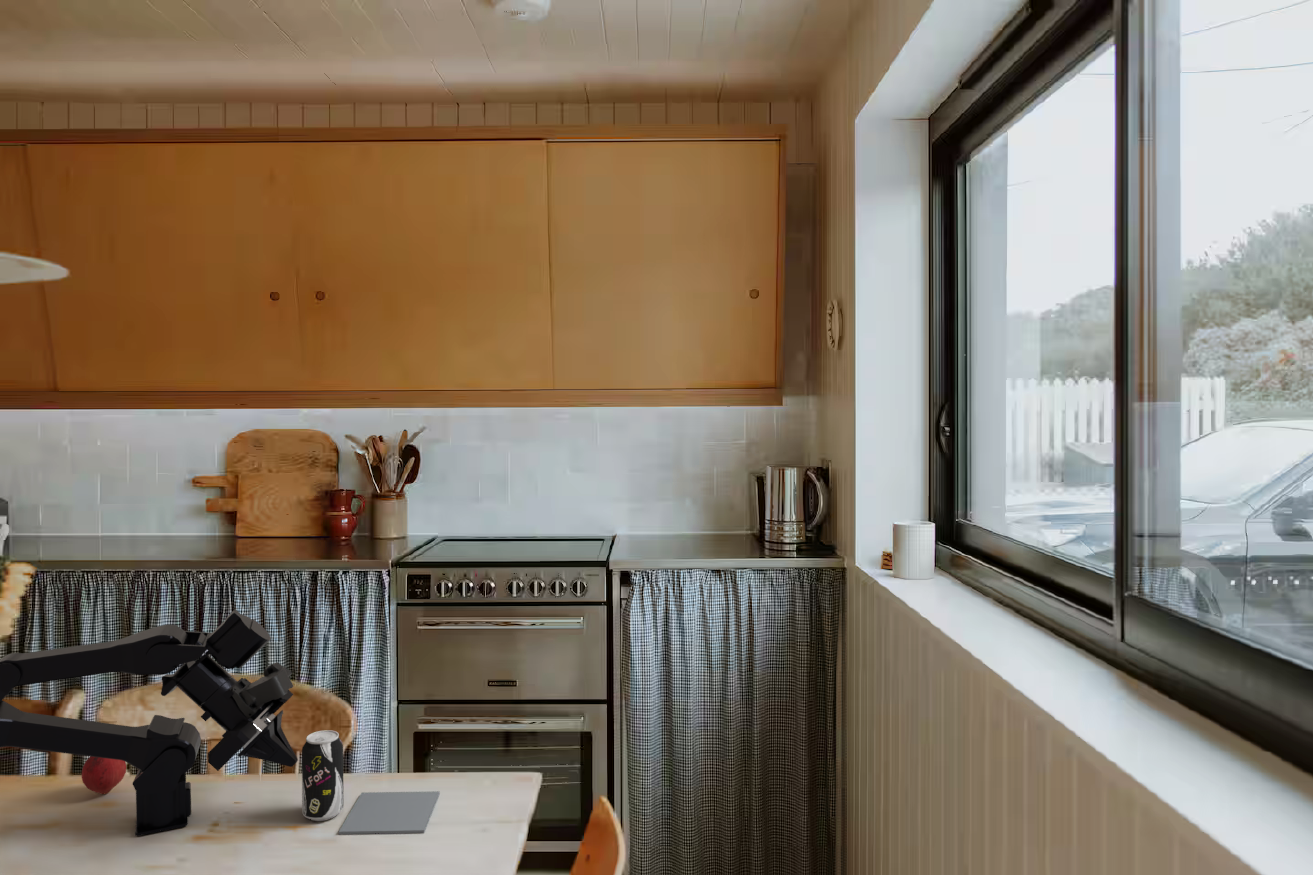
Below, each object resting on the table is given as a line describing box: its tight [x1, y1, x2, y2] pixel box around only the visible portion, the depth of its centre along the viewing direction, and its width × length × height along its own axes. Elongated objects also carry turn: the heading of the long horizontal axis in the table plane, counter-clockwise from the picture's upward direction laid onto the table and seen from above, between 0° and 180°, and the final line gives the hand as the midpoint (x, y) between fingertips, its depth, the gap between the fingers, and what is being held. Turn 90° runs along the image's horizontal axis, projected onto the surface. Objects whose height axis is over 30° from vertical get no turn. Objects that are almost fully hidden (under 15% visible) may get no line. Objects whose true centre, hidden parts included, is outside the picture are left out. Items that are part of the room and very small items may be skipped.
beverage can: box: [301, 729, 344, 822], centre depth 129 cm, size 6×6×12 cm
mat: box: [338, 790, 441, 835], centre depth 130 cm, size 12×12×1 cm
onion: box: [81, 756, 127, 795], centre depth 134 cm, size 6×6×8 cm
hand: (295, 763), depth 129 cm, fingers closed
